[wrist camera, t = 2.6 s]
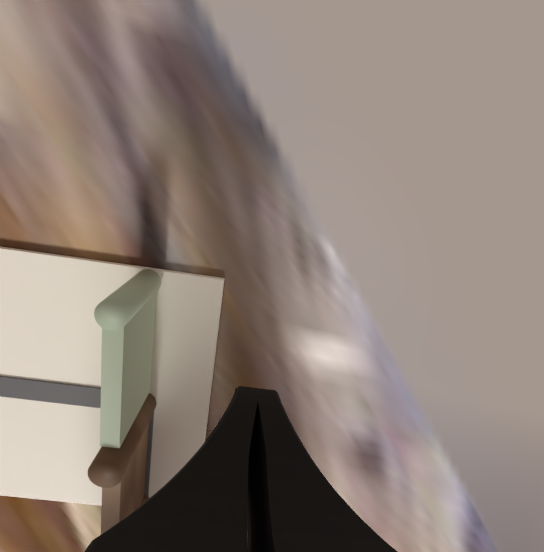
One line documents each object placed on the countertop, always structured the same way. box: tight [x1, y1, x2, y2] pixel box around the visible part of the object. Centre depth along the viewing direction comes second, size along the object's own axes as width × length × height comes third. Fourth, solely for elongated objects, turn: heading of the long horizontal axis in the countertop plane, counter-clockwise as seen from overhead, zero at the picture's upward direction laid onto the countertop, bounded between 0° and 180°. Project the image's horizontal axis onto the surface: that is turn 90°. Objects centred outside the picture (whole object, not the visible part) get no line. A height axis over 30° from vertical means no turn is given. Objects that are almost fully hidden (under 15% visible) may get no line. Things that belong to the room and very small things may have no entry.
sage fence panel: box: [94, 269, 161, 448], centre depth 15 cm, size 7×1×4 cm, turn 171°
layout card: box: [0, 246, 225, 506], centre depth 19 cm, size 15×12×1 cm
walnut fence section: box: [88, 393, 157, 534], centre depth 18 cm, size 8×1×5 cm, turn 171°
